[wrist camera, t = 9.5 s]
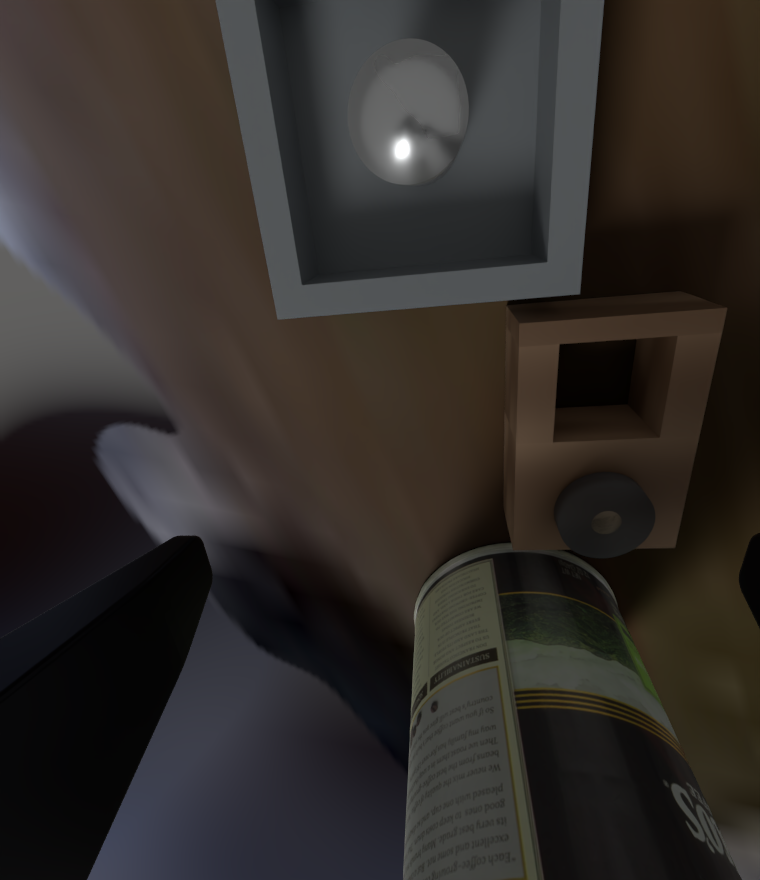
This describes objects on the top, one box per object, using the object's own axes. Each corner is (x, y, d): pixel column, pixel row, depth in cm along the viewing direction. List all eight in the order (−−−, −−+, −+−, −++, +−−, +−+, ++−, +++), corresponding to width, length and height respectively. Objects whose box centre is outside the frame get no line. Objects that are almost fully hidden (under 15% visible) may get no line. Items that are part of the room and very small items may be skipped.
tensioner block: (643, 503, 21) (687, 566, 17) (503, 507, 21) (517, 567, 18) (680, 290, 17) (747, 314, 13) (506, 305, 17) (525, 331, 14)
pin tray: (556, 279, 17) (579, 293, 14) (300, 302, 18) (277, 319, 16) (578, -87, 13) (617, -164, 10) (244, -25, 14) (200, -77, 11)
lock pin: (461, 180, 15) (470, 176, 10) (385, 190, 16) (357, 192, 10) (458, 86, 14) (466, 26, 9) (376, 100, 15) (338, 51, 9)
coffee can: (601, 519, 21) (846, 975, 9) (627, 671, 25) (820, 1131, 13) (385, 562, 24) (332, 969, 11) (441, 695, 28) (449, 1103, 15)
